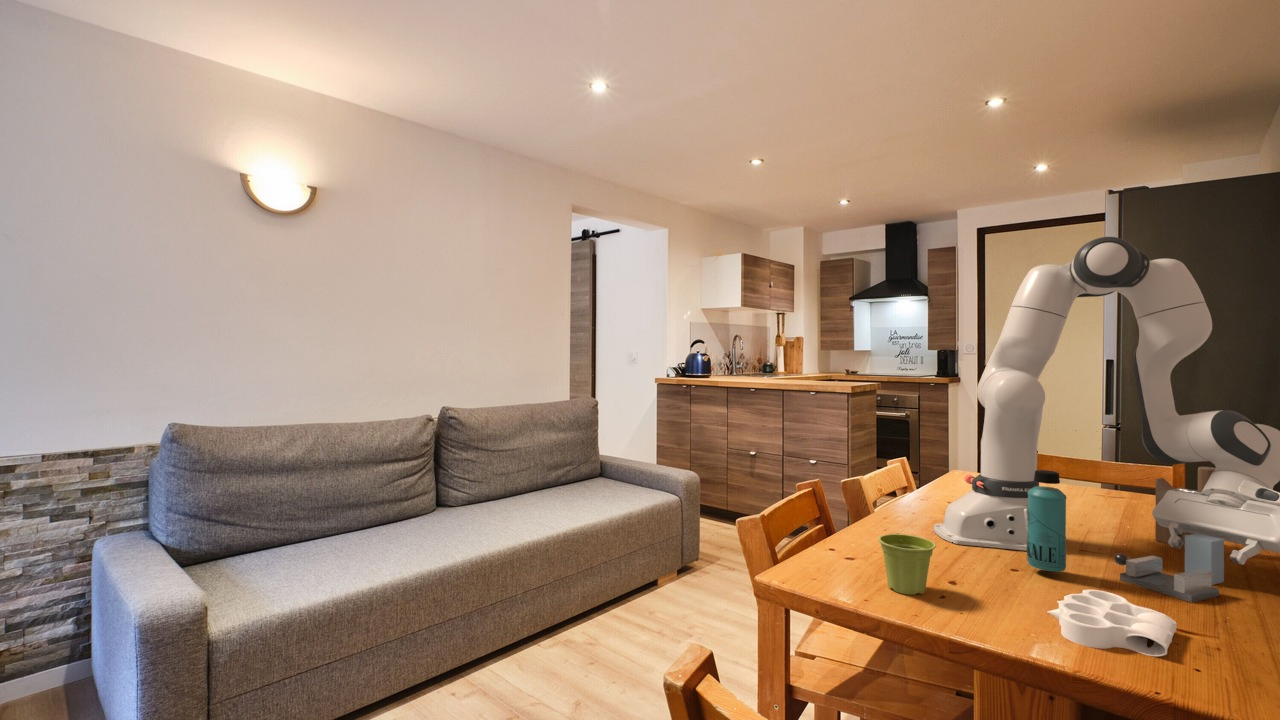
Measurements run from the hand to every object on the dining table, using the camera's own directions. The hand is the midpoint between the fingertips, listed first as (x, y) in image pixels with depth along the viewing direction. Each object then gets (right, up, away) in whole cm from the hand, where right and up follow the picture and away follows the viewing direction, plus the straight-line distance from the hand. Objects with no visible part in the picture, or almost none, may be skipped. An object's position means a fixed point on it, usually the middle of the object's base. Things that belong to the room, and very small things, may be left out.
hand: (1203, 553), depth 111 cm
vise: (-10, -5, -4) cm, 12 cm away
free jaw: (-12, -4, +2) cm, 13 cm away
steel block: (0, -5, 0) cm, 5 cm away
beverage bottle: (-28, -5, +3) cm, 28 cm away
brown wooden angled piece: (+15, -5, +20) cm, 26 cm away
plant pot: (-58, -5, -4) cm, 58 cm away
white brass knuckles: (-34, -6, -20) cm, 40 cm away
